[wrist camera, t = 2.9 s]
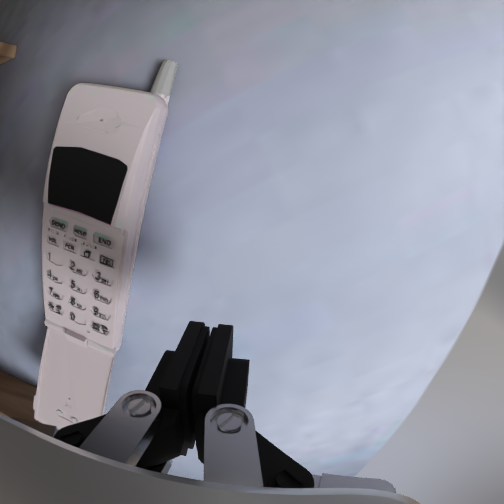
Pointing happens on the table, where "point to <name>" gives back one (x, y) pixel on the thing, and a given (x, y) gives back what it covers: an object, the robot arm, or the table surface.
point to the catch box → (3, 385)
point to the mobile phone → (93, 238)
